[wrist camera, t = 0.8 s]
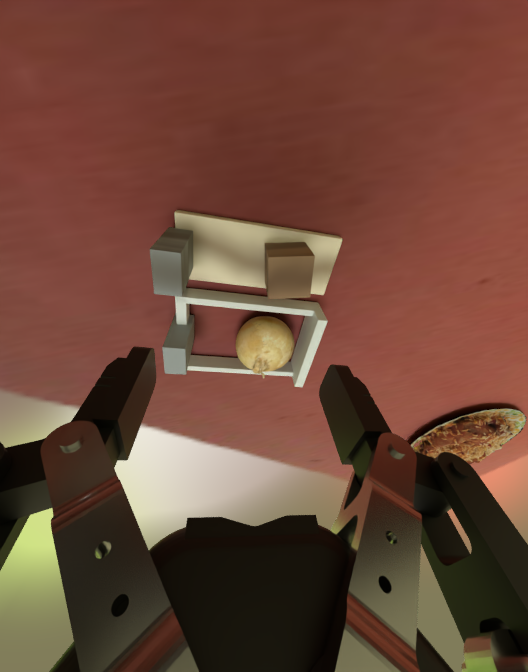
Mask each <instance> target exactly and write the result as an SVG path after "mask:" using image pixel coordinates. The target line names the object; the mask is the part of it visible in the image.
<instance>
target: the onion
mask: <svg viewBox="0 0 528 672" xmlns="http://www.w3.org/2000/svg"><path fill="white" fill-rule="evenodd" d="M293 350H294V338H293V335H292V332H291V330H290V329H289V327H288V326H287V325H286V324H285V323H284V322H282V321H281V320H279V319H277V318H275V317H271V316H259V317H254V318H251V319H250V320H249V321H247V322H246V323H245V324H244V325H243V326H242V327H241V329H240V330H239V332H238V335H237V338H236V351H237V355H238V358H239V360H240V361H241V362H242V363H243V364H244V365H245V366H246V367H247V368H249V369H252V370H253V372H254V373H255V374H257V373H258V374H260V373H261V374H262V376H263V378H265V375H264V373H262V372H268V371H273V370H276V369H279V368H281V367H282V366H284V365H285V364H286V363H287V362H288V361H289V359H290V358H291V356H292V353H293Z"/></svg>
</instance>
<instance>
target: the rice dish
mask: <svg viewBox="0 0 528 672" xmlns="http://www.w3.org/2000/svg"><path fill="white" fill-rule="evenodd" d="M504 416H505V417H506V418H505V419H504ZM525 419H526V416H525V415H524V414H523V413H522V412H521V411H518V410H515V409H507V408H505V409H492V410H483V411H481V412H474V413H471V414H466V415H465V416H461V417H458V418H455V419H453V420H451V421H448V422H444V423H443V424H441V425H438V426H436V427H434V428H433V429H432V430H430V431H428V432H427V433H425V434H424V435H423V436H421V437H419V438H417V440H415V441H414V442H413V443H411V447H412V448H413V447H414V444H415V443H417V442H418V441H421V440H422V442H420V445H419V446H417V447H415V448H414V451H415V452H418V453H421V454H424V455H427V456H430V457H433V458H436V457H437V456H438V455H439V454H440V453H442V452H450V453H453V454H455V455H457V456H459V457H461V458H462V459H464V460H465V461H466V462H467V463H468V464H471V463H473V462H477V463H479V462H480V461H481V460H483V459H485V458H486V456H489V455H490V454H491V453H492V452H495V451H494V450H499V449H501V448H503V447H502V445H503V444H505V443H506V442H508V441H509V440H511V439H512V438H513V437H515V436H516V435H517V434H518V433H520V432H521V430H522V429H523V427H524V424H525V422H526V420H525ZM424 440H426V441H424Z"/></svg>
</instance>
